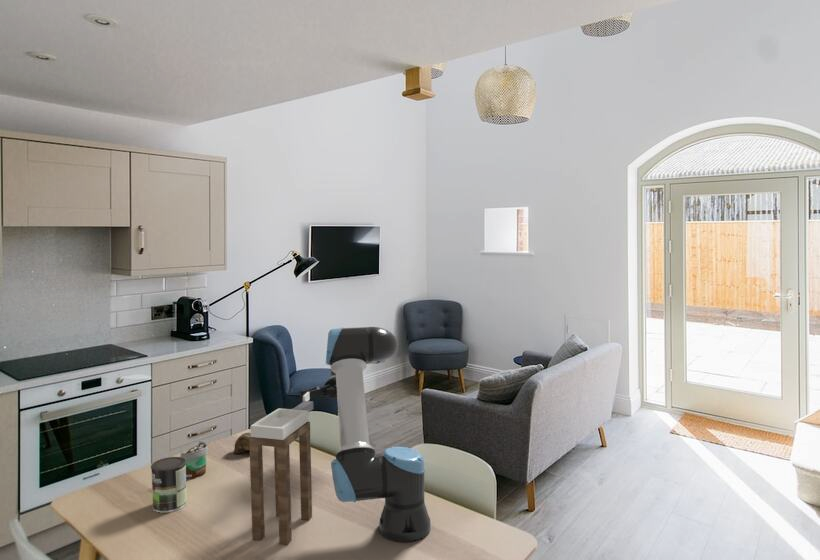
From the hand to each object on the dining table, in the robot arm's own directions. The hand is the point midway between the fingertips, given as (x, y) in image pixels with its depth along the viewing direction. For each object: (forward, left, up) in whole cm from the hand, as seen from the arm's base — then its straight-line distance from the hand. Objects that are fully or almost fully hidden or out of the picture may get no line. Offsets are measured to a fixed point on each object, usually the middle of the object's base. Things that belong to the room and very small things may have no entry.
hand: (323, 400), depth 183 cm
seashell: (+47, -5, -31) cm, 57 cm away
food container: (+45, +19, -31) cm, 58 cm away
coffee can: (+32, +38, -31) cm, 58 cm away
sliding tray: (-7, +22, 0) cm, 23 cm away
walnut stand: (-9, +27, -30) cm, 41 cm away
